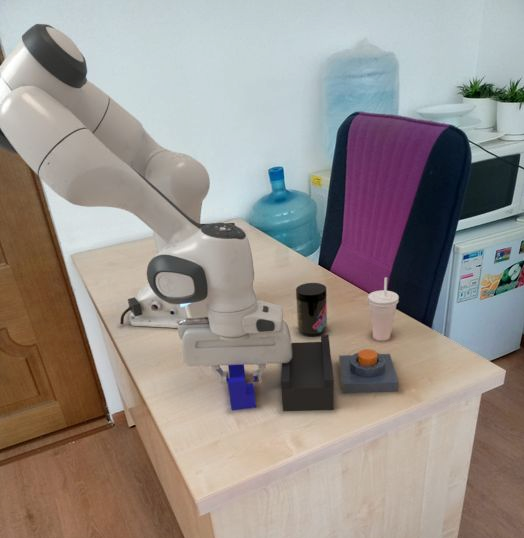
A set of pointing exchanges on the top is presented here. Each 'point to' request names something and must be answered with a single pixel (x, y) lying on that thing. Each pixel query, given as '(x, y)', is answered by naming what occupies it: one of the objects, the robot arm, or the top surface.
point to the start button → (367, 357)
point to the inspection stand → (308, 377)
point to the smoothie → (382, 312)
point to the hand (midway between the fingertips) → (241, 381)
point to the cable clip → (240, 389)
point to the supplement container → (311, 309)
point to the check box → (367, 375)
